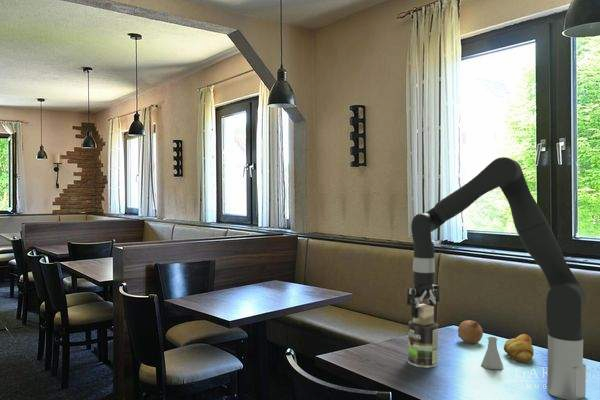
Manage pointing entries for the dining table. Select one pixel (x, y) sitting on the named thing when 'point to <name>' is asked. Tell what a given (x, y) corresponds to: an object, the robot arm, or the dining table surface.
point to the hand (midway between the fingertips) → (423, 316)
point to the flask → (492, 355)
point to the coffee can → (423, 344)
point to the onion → (470, 332)
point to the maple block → (424, 315)
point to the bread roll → (520, 348)
